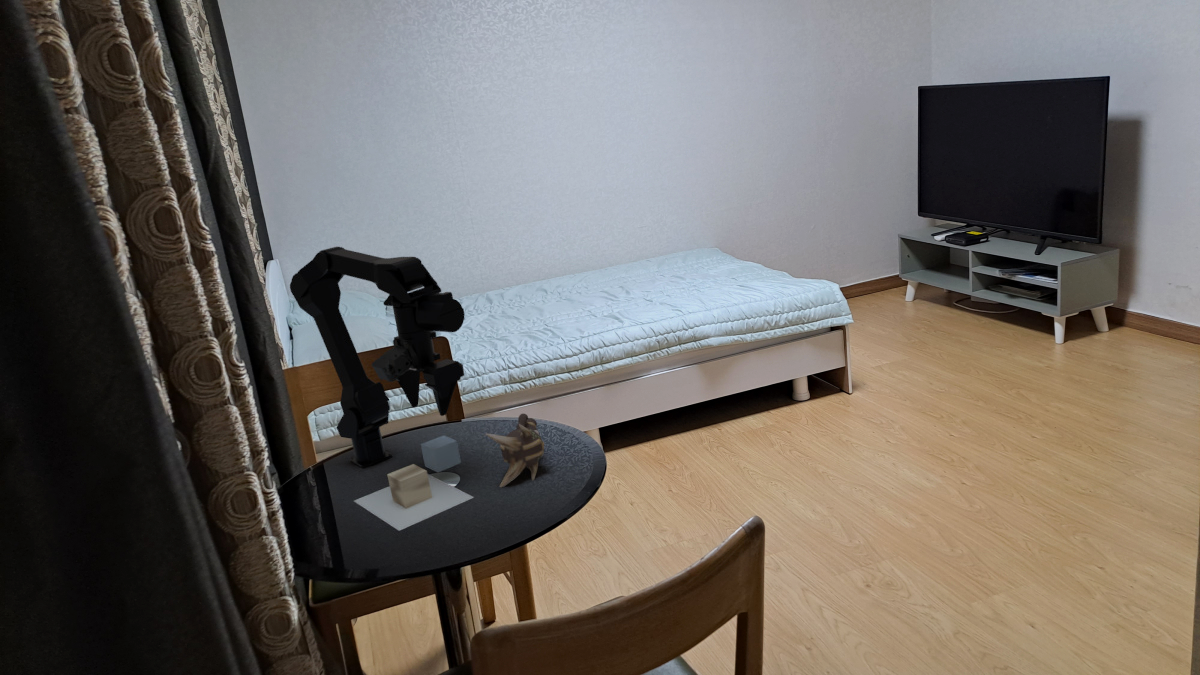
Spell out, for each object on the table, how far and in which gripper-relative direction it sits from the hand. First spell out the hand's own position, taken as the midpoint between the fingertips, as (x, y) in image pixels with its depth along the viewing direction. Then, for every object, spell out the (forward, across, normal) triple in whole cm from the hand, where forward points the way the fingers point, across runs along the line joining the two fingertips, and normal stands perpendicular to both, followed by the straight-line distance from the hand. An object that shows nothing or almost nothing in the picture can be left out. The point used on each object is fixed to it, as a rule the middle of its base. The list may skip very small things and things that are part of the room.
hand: (429, 410), depth 153 cm
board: (+12, +7, -10) cm, 17 cm away
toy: (+12, +16, +8) cm, 21 cm away
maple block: (+11, +7, -10) cm, 17 cm away
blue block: (+12, -1, +2) cm, 12 cm away
